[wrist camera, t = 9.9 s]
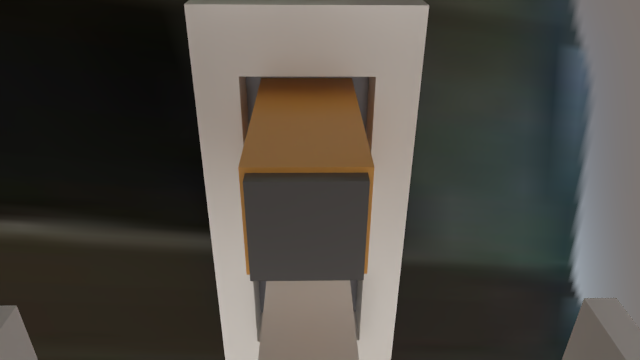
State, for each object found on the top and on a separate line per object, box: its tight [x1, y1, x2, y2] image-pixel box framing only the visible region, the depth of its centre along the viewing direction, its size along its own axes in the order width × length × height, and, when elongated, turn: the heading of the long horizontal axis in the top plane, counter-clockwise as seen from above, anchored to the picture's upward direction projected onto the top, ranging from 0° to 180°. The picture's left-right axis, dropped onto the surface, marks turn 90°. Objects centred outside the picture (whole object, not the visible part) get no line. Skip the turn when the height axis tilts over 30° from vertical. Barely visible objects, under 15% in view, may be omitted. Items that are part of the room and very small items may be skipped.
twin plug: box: [258, 280, 359, 360], centre depth 26 cm, size 4×4×10 cm
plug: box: [238, 78, 374, 281], centre depth 21 cm, size 4×4×10 cm
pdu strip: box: [184, 0, 429, 360], centre depth 27 cm, size 22×10×3 cm, turn 0°
